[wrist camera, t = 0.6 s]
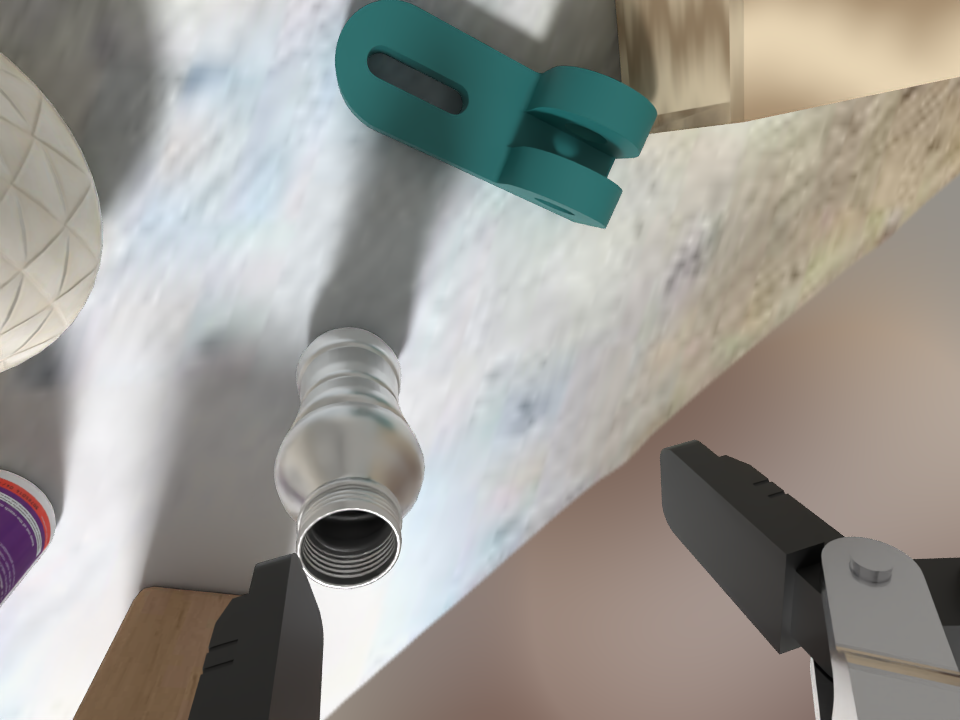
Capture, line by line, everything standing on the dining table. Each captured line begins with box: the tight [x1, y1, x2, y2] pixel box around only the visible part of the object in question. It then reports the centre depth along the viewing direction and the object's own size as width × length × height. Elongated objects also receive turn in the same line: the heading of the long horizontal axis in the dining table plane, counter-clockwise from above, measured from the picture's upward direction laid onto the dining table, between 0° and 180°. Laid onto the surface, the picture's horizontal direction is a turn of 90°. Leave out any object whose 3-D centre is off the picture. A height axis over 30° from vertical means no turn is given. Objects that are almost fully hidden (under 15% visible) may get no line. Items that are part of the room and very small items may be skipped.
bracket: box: [335, 0, 657, 228], centre depth 31 cm, size 18×7×8 cm, turn 66°
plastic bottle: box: [274, 327, 425, 589], centre depth 28 cm, size 6×7×20 cm
